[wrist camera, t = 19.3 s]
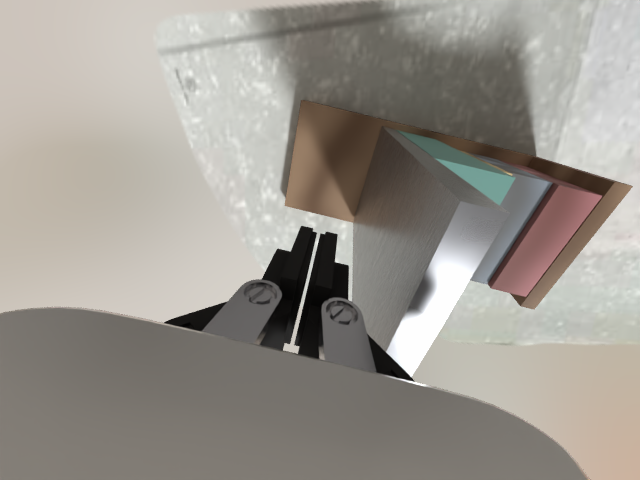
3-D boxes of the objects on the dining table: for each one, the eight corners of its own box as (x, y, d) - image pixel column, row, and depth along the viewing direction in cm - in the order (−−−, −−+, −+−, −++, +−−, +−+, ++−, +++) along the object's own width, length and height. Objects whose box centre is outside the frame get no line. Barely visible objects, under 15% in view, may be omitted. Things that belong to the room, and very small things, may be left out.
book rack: (536, 156, 27) (632, 186, 17) (482, 249, 32) (534, 309, 23) (303, 100, 27) (277, 99, 18) (287, 201, 32) (259, 242, 23)
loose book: (436, 139, 26) (515, 177, 13) (399, 230, 30) (431, 323, 18) (395, 129, 26) (435, 158, 13) (365, 221, 30) (373, 309, 18)
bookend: (393, 128, 25) (510, 213, 6) (363, 222, 30) (378, 431, 11) (381, 125, 25) (460, 201, 6) (353, 219, 30) (350, 424, 11)
